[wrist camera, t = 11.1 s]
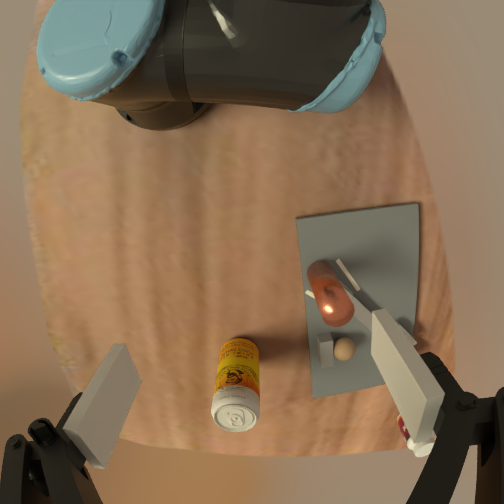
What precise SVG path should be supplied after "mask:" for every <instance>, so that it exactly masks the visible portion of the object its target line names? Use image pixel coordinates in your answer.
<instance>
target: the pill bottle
mask: <svg viewBox="0 0 504 504" xmlns="http://www.w3.org/2000/svg"><path fill="white" fill-rule="evenodd" d="M397 422H398V425H399V427H400V430H401V432H402V434H403V437H404V439H405V442H406V444H407V446H408V448H409V449H411V450H413V451H414V454H415V456H416V457H423V456H426V455H428V454H429V453H430V452H431V450H432V448H433V445H434V443H435V440H434V436H435V432H434V430H433V432H432V435H431V437H430V439H427V440H424V441H421V442H418V443H415V444H414V443H413V441H412V439H411V436H410V434H409V432H408V430H407V428H406V425H405V423H404V421H403V419H402V417H401V415H400V414H399V415H398V417H397Z"/></svg>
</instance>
